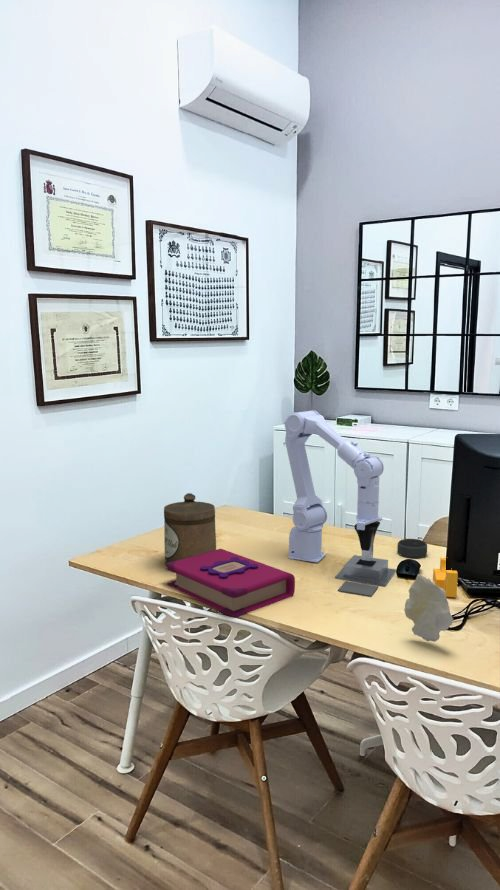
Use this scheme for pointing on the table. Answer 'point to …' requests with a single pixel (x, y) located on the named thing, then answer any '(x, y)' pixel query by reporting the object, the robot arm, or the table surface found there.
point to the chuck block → (366, 571)
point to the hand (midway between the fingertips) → (366, 548)
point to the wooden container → (188, 529)
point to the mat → (358, 589)
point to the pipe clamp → (446, 579)
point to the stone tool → (427, 609)
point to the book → (231, 581)
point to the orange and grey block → (368, 554)
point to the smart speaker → (412, 548)
